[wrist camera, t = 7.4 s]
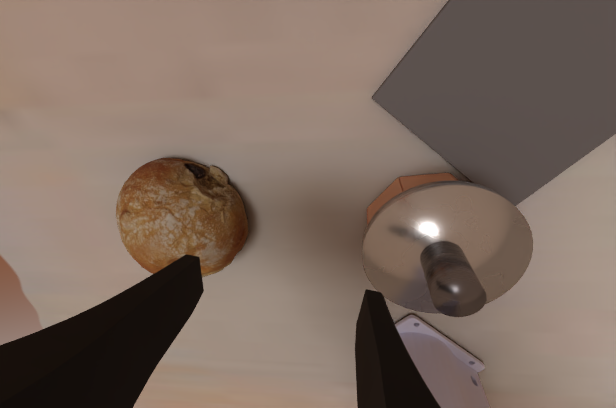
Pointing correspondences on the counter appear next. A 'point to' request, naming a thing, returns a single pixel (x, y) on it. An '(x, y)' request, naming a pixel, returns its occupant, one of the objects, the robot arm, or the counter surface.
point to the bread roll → (181, 215)
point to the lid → (446, 247)
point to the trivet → (510, 88)
